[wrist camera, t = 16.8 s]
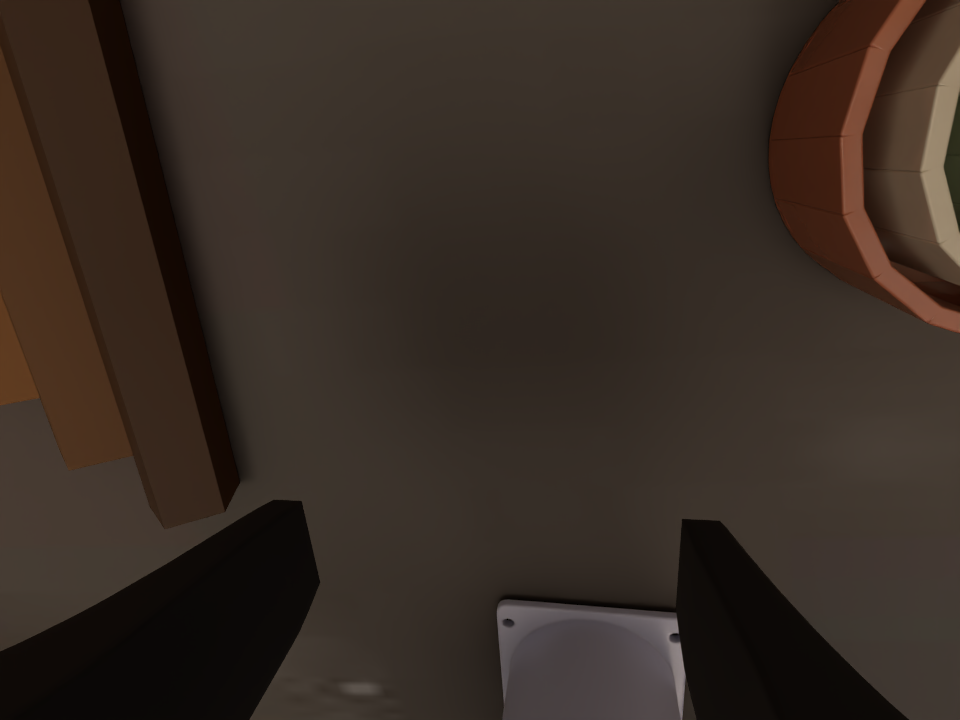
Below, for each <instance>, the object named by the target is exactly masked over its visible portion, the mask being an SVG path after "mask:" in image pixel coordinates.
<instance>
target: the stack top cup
mask: <svg viewBox="0 0 960 720" xmlns="http://www.w3.org/2000/svg"><path fill="white" fill-rule="evenodd" d="M959 91H960V0H927V1H926V2H925V3H924V5H923V6H922V8H921V9H920V11H919V12H918V13H917V15H916V16H915V18H914V19H913V20H912V22H911V23H910V25H909V26H908V28H907V29H906V30H905V32H904V33H903V35H902V36H901V38H900V39H899V40H898V42H897V43H896V45H895V46H894V48H893V49H892V50H891V52H890V55H889V58H888V61H887V64H886V67H885V69H884V72H883V75H882V78H881V81H880V84H879V87H878V90H877V93H876V96H875V99H874V102H873V105H872V108H871V111H870V114H869V117H868V120H867V123H866V126H865V129H864V132H863V170H864V207H865V209H866V212H867V214H868V216H869V218H870V220H871V222H872V224H873V226H874V228H875V231H876V233H877V235H878V237H879V239H880V241H881V243H882V245H883V248H884V250H885V252H886V254H887V256H888V258H889V260H890V261H892V262H894V263H897V264H900V265H903V266H906V267H908V268H911V269H914V270H917V271H920V272H922V273H925V274H928V275H931V276H934V277H936V278H939V279H942V280H945V281H948V282H950V283H953V284H956V285H959V286H960V232H959V228H958V224H957V220H956V216H955V212H954V207H953V203H952V199H951V195H950V191H949V187H948V183H947V179H946V175H945V171H944V162H945V157H946V153H947V148H948V143H949V139H950V134H951V129H952V124H953V120H954V115H955V110H956V106H957V101H958V96H959Z"/></svg>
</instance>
